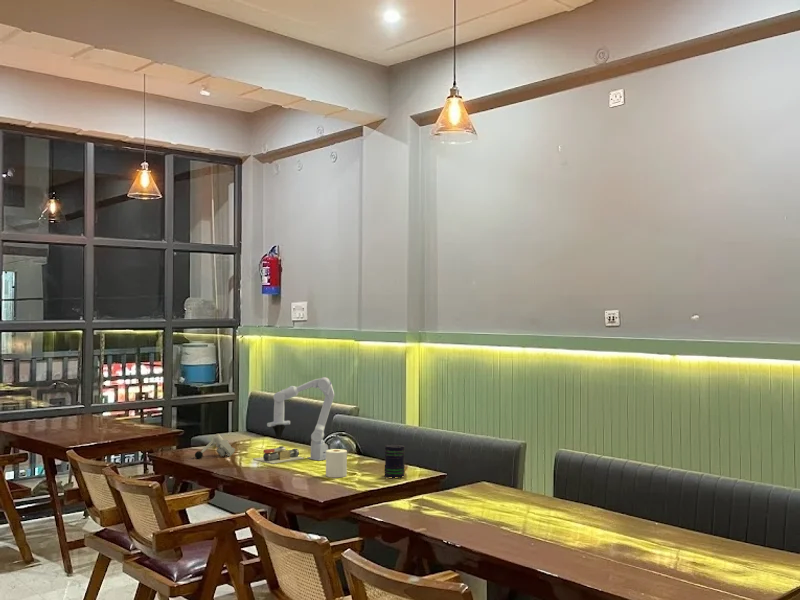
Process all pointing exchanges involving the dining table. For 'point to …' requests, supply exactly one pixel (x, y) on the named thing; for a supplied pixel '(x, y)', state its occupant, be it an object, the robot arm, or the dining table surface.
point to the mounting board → (278, 460)
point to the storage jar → (394, 460)
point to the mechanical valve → (221, 443)
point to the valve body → (281, 455)
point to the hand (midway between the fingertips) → (278, 438)
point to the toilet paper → (336, 463)
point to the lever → (275, 449)
